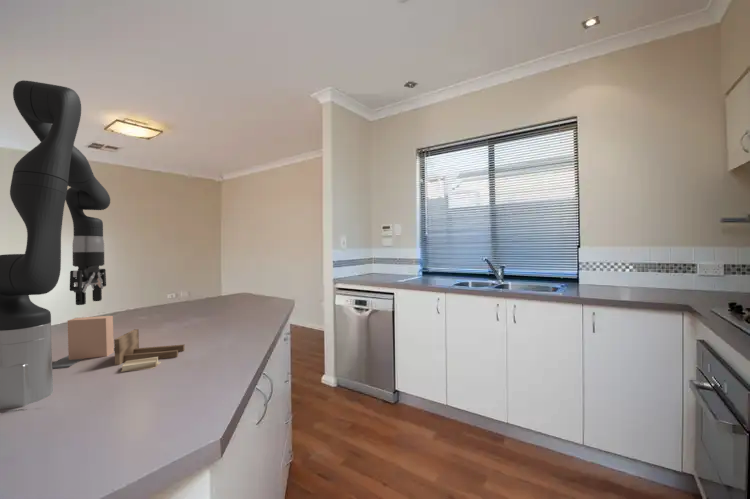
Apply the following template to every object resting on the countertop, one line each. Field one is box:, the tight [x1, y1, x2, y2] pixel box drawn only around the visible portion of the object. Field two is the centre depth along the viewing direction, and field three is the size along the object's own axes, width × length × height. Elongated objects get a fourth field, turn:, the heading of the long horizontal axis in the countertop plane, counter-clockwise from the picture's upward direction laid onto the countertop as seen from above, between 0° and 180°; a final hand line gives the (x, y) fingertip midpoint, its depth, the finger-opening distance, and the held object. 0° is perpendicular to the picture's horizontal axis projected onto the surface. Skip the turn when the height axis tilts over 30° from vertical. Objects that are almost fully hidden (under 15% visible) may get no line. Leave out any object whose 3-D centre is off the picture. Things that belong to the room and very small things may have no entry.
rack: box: [113, 328, 185, 366], centre depth 102 cm, size 12×15×8 cm
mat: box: [52, 347, 115, 370], centre depth 103 cm, size 16×16×1 cm
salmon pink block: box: [67, 315, 115, 360], centre depth 103 cm, size 4×10×12 cm, turn 103°
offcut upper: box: [121, 357, 159, 372], centre depth 92 cm, size 5×8×2 cm, turn 117°
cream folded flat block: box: [119, 361, 162, 372], centre depth 93 cm, size 5×8×2 cm, turn 104°
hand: (89, 302), depth 103 cm, fingers open, 8 cm apart
